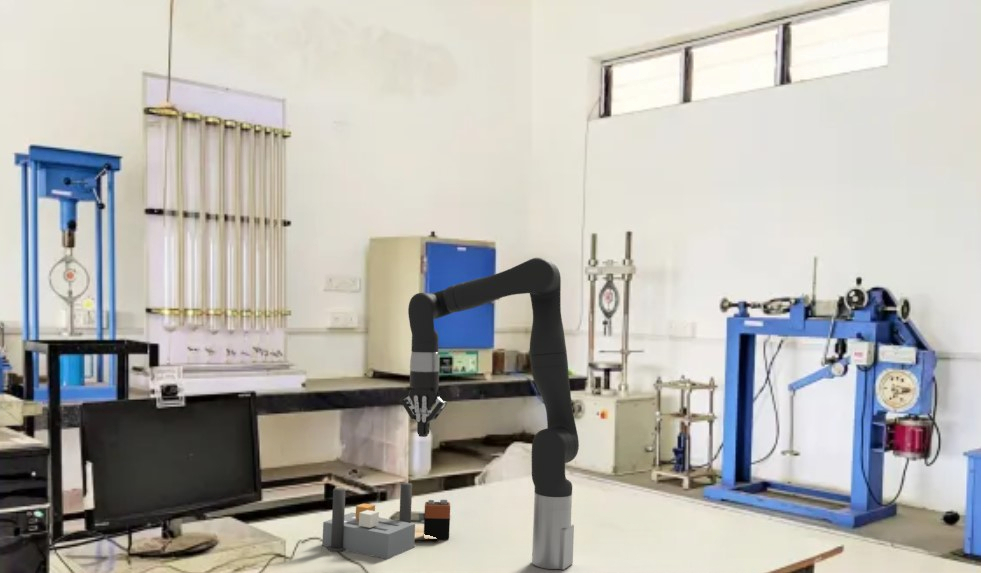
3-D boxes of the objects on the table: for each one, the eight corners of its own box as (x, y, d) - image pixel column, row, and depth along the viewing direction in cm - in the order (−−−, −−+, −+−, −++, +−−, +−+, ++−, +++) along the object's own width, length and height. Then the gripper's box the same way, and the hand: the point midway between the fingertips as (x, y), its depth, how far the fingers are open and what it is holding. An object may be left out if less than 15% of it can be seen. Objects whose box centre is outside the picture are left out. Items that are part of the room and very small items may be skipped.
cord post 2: (415, 540, 220) (418, 483, 220) (406, 544, 216) (409, 486, 217) (401, 538, 222) (404, 481, 223) (392, 542, 218) (394, 484, 219)
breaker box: (414, 547, 214) (415, 523, 214) (387, 559, 204) (388, 533, 204) (351, 535, 223) (352, 512, 224) (322, 545, 213) (323, 521, 213)
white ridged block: (378, 524, 211) (378, 512, 211) (370, 527, 208) (370, 514, 208) (366, 522, 212) (367, 509, 212) (358, 525, 209) (359, 512, 209)
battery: (449, 540, 222) (450, 502, 222) (423, 539, 222) (424, 501, 222) (448, 535, 226) (450, 498, 227) (423, 535, 226) (425, 498, 226)
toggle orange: (374, 517, 217) (375, 505, 218) (366, 520, 214) (367, 507, 214) (363, 515, 219) (364, 503, 219) (355, 518, 216) (356, 506, 216)
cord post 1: (349, 548, 211) (351, 489, 211) (338, 553, 207) (341, 492, 207) (335, 545, 213) (337, 486, 213) (324, 550, 209) (326, 489, 209)
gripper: (453, 369, 218) (452, 436, 218) (410, 367, 224) (408, 432, 223) (439, 371, 211) (438, 440, 211) (395, 369, 217) (393, 436, 217)
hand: (423, 436), depth 217 cm, fingers closed
